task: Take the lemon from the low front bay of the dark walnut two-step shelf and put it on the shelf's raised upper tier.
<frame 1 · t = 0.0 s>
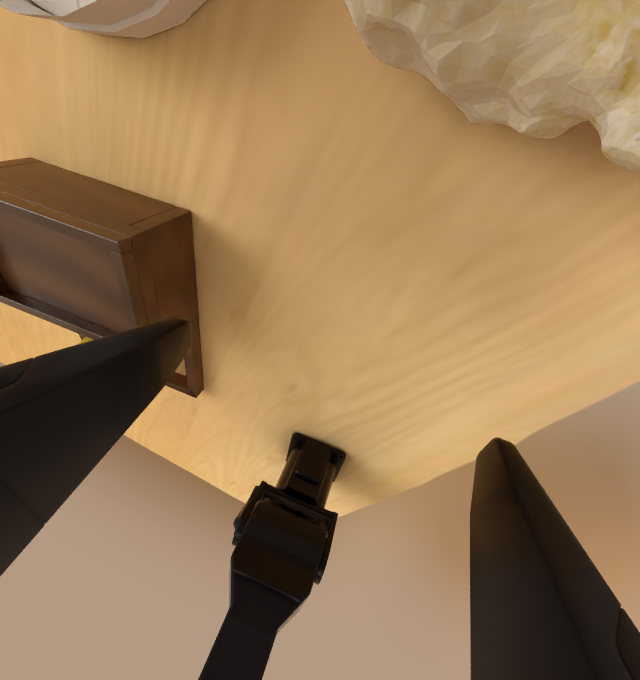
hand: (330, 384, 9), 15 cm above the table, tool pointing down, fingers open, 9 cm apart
step shelf: (131, 290, 31), on the table
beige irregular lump: (581, 1, 13), on the table
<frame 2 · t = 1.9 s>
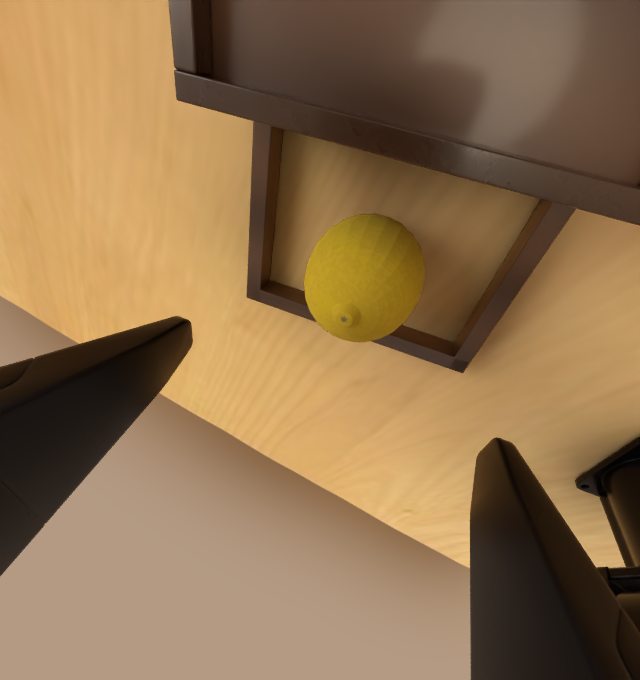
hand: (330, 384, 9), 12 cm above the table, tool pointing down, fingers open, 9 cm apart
step shelf: (413, 138, 15), on the table
lemon: (378, 246, 19), resting in step shelf
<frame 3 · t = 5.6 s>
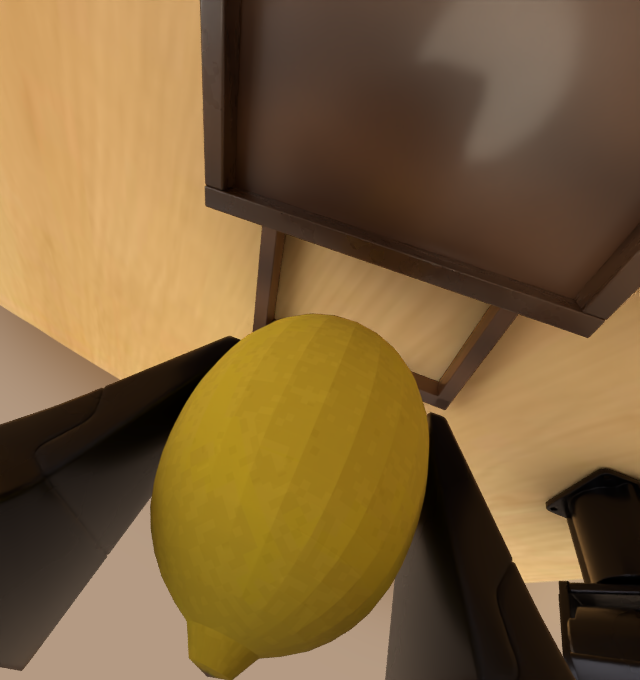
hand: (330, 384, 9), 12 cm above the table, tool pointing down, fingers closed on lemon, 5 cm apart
step shelf: (403, 216, 17), on the table
lemon: (347, 339, 11), point 10 cm above the table, touching gripper
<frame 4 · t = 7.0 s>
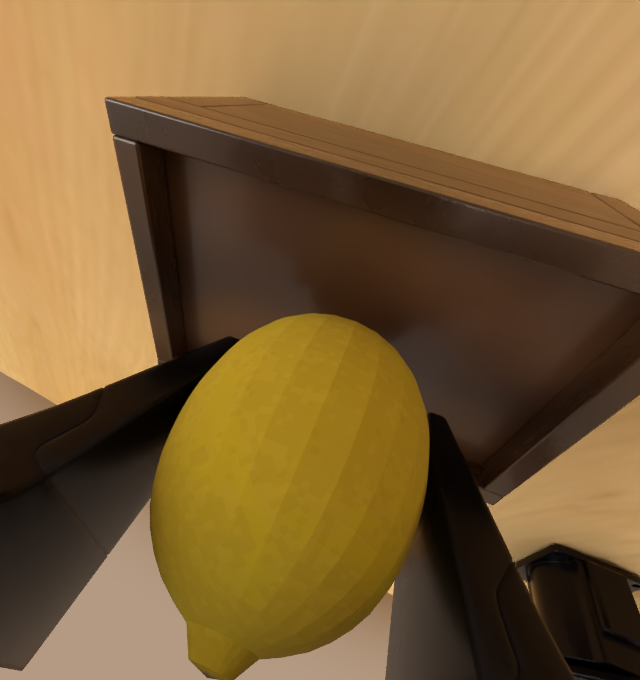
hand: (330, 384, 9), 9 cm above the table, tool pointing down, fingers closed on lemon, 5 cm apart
step shelf: (352, 338, 19), on the table
lemon: (347, 339, 11), point 6 cm above the table, touching gripper
when the fingers open (8 cm above the table, at t = 7.6 s): lemon stays where it is, resting on step shelf.
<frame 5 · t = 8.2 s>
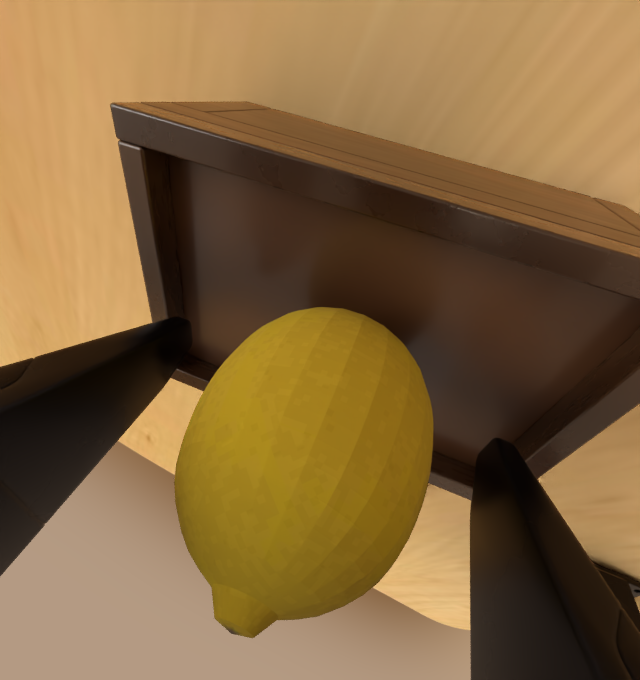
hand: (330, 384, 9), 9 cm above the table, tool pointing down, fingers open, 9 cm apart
step shelf: (354, 341, 19), on the table
lemon: (353, 334, 11), point 6 cm above the table, touching step shelf
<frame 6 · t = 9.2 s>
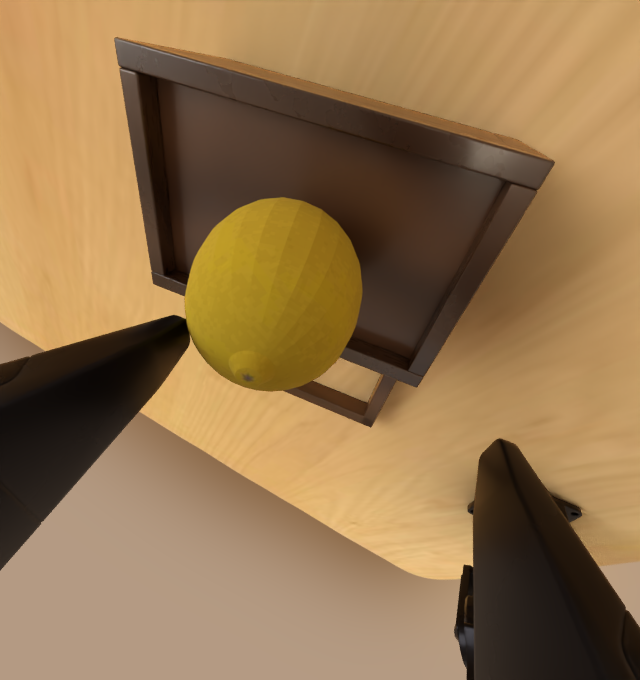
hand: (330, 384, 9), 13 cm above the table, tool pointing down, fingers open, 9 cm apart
step shelf: (320, 276, 22), on the table
lemon: (298, 238, 14), point 6 cm above the table, touching gripper, step shelf
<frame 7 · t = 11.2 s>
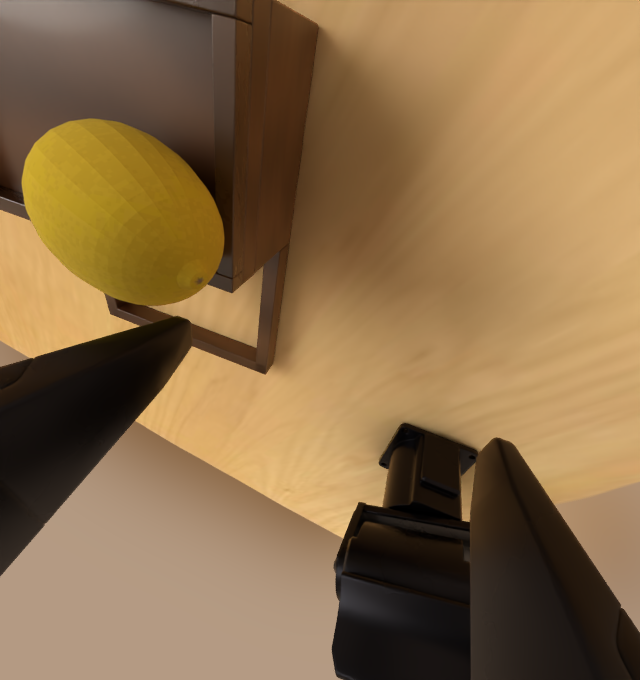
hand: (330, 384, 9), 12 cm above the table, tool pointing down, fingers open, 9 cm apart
step shelf: (185, 208, 21), on the table
lemon: (72, 160, 13), point 8 cm above the table, touching step shelf
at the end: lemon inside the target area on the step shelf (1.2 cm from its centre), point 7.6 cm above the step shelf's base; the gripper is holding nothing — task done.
